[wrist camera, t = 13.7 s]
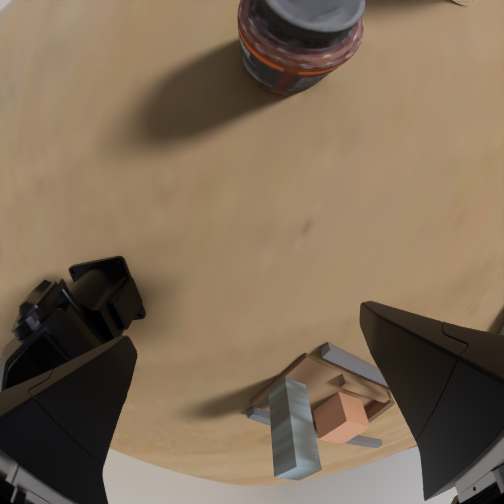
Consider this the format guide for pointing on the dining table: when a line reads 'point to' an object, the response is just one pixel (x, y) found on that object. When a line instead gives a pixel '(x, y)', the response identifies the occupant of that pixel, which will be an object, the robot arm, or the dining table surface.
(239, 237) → the dining table surface
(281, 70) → the supplement bottle
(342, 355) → the lane
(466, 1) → the beer glass
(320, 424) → the cube
